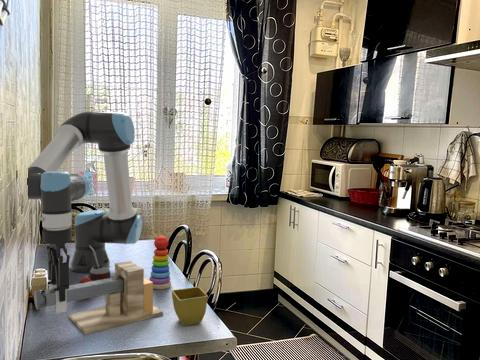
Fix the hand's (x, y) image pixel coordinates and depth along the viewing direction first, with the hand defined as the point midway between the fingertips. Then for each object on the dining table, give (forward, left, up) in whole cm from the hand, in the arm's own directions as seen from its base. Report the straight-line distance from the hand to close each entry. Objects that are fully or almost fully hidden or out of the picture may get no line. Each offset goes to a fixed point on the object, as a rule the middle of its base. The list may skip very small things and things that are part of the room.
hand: (59, 309), depth 125 cm
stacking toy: (-16, +40, -6) cm, 43 cm away
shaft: (0, +8, +1) cm, 8 cm away
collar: (0, +25, -1) cm, 25 cm away
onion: (-19, +14, -6) cm, 24 cm away
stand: (0, +17, -6) cm, 18 cm away
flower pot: (+16, +33, -6) cm, 37 cm away
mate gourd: (-26, +21, -6) cm, 34 cm away
